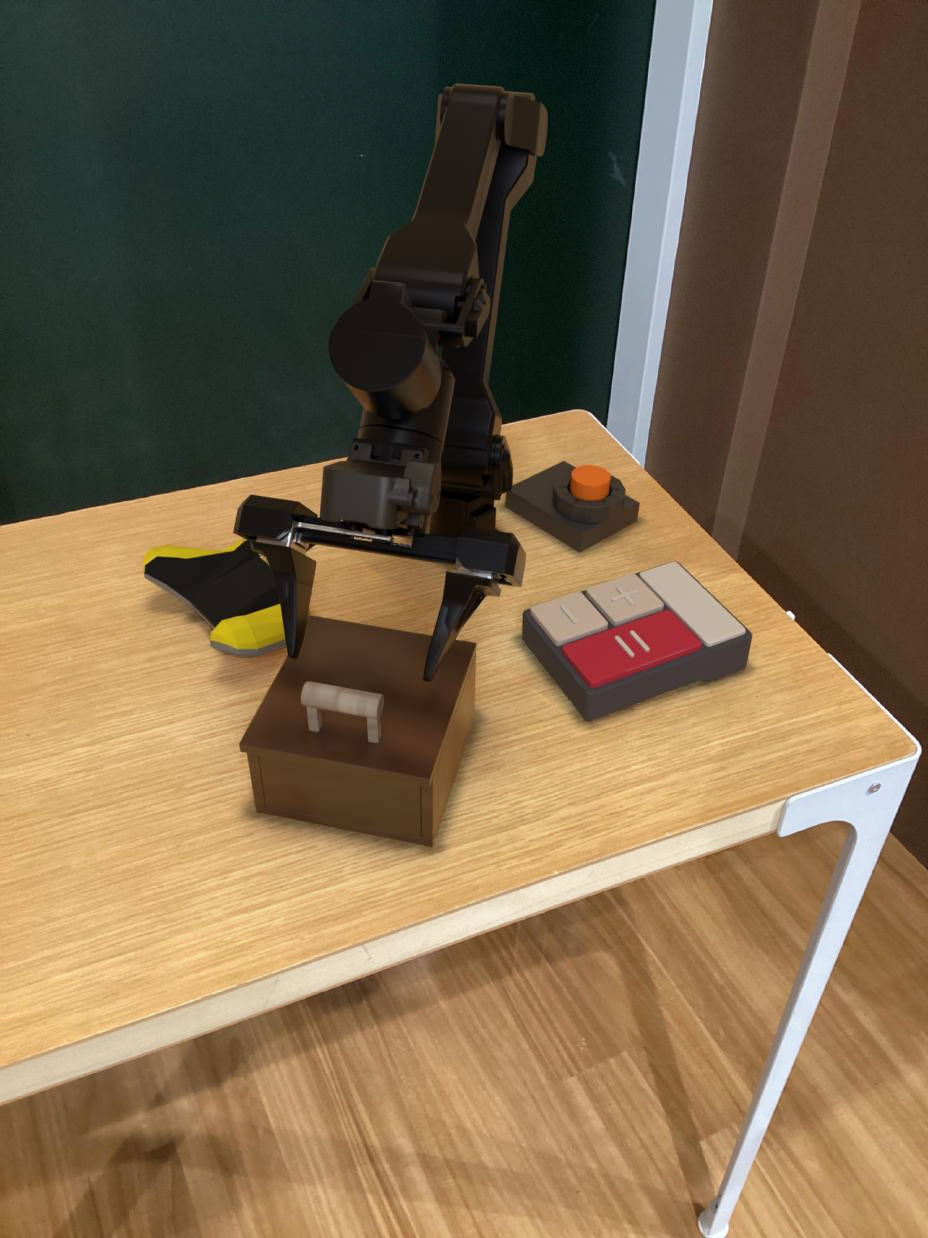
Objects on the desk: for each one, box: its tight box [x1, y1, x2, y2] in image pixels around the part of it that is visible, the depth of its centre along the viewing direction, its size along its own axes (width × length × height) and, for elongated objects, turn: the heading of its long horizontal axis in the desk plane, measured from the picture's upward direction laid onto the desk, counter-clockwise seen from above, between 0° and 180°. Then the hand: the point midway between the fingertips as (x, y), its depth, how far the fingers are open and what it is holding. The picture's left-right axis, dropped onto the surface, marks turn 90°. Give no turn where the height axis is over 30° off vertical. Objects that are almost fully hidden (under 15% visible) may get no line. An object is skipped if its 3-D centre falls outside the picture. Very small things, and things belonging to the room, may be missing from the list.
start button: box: [570, 464, 611, 501], centre depth 99 cm, size 4×4×2 cm
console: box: [504, 460, 641, 553], centre depth 101 cm, size 10×8×4 cm
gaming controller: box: [142, 538, 313, 659], centre depth 88 cm, size 15×6×10 cm
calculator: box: [521, 560, 753, 722], centre depth 86 cm, size 11×4×15 cm
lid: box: [238, 614, 478, 788], centre depth 71 cm, size 13×13×5 cm
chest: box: [246, 653, 477, 848], centre depth 75 cm, size 13×13×7 cm
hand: (359, 669), depth 70 cm, fingers open, 9 cm apart
